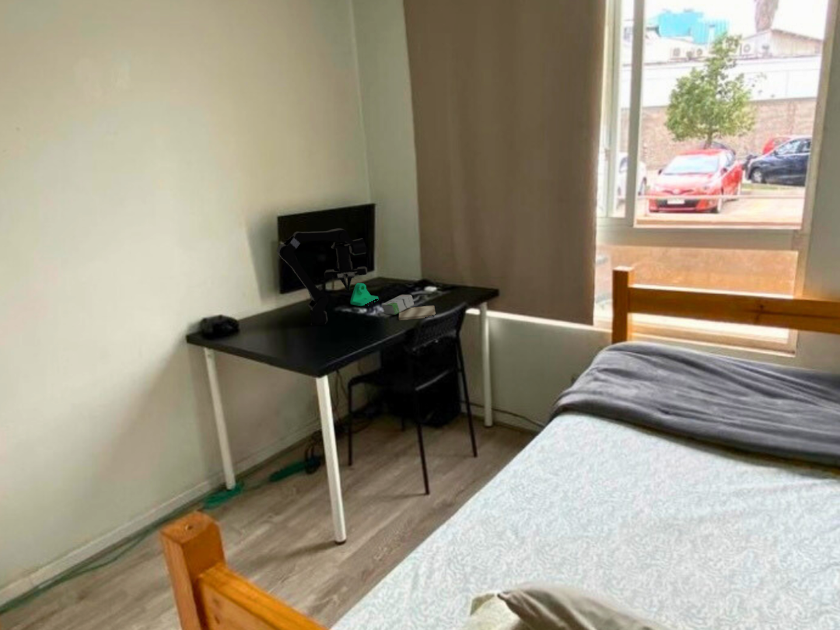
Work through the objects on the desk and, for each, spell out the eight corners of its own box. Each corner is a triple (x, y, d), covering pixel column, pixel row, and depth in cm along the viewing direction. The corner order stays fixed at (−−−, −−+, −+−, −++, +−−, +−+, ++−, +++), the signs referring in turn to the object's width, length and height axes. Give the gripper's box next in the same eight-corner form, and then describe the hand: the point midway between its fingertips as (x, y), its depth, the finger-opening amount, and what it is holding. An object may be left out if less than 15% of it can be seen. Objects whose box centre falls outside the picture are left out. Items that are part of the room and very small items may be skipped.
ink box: (395, 315, 249) (415, 304, 255) (391, 304, 247) (412, 294, 254) (384, 314, 256) (404, 304, 262) (381, 304, 254) (401, 294, 261)
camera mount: (361, 308, 269) (358, 287, 266) (351, 306, 274) (348, 285, 271) (379, 301, 277) (377, 281, 274) (369, 300, 282) (367, 280, 279)
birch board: (399, 320, 244) (398, 317, 243) (399, 311, 257) (399, 308, 257) (435, 316, 244) (435, 314, 243) (434, 307, 257) (434, 305, 257)
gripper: (365, 251, 256) (370, 284, 261) (325, 255, 256) (330, 288, 261) (364, 256, 245) (368, 290, 250) (321, 260, 246) (326, 294, 250)
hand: (348, 291), depth 253 cm, fingers closed
